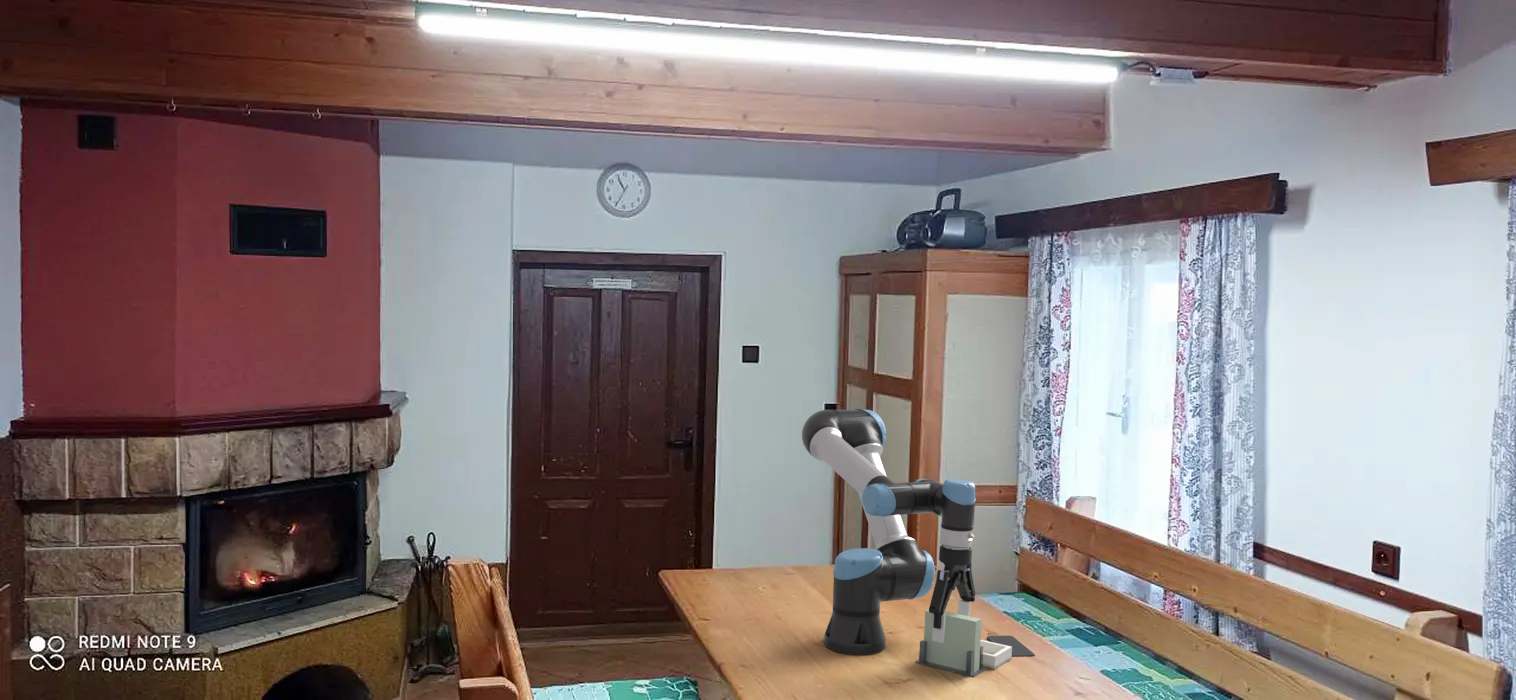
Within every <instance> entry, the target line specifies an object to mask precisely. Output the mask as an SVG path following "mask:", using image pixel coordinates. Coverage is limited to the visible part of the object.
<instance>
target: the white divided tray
mask: <svg viewBox="0 0 1516 700" xmlns="http://www.w3.org/2000/svg"><path fill="white" fill-rule="evenodd" d="M980 646H983V665H982V667H984V668H986V669H988V668H989V669H991V670H996V669H998V668H999V667H1001V666H1003V665H1004V664H1005V663H1007V662H1009V661H1010V660H1012V647H1011V646H1007V645H1002V644H998V643H993V642H990V641H989V640H984V639H981V640H980Z"/></svg>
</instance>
